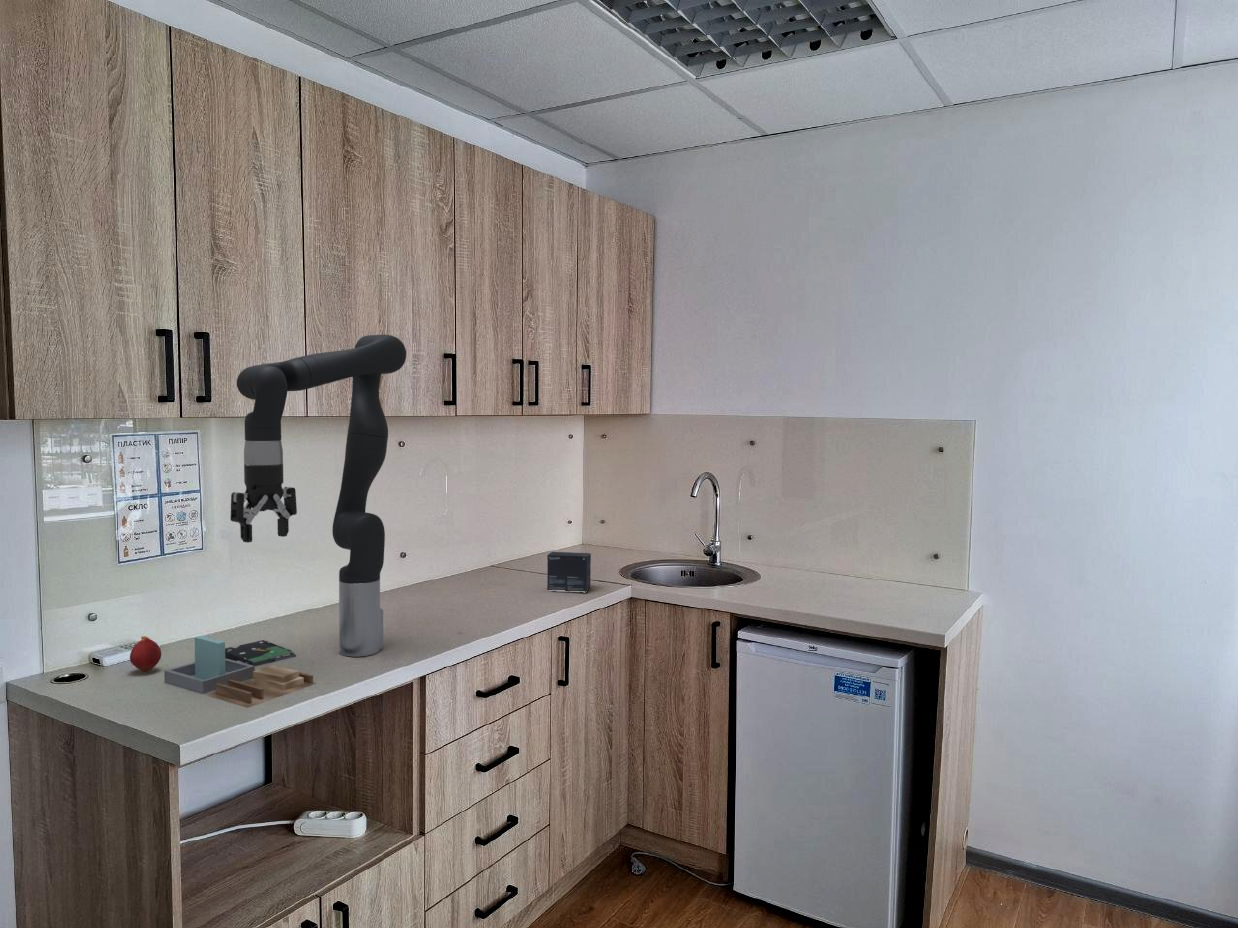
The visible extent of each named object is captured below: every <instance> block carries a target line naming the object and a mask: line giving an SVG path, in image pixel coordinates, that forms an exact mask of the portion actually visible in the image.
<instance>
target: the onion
mask: <svg viewBox="0 0 1238 928" xmlns="http://www.w3.org/2000/svg"><path fill="white" fill-rule="evenodd" d="M140 638H141V640H139V641H137V642H136V643H135V644H134V645H133V647H132V648H131V650H130V653H129V654H130V655H129V661H130V663H131V664H132V666H134V667H135V668H136V669H138V670H140V671H141V672H143V673H148V672H149V671H151V670H153V669H154V668H155V667H156V666H157V665H158V663H159V662H160V661H161V658H162V648H161V647H160V646H159V644H158V643H157V642H155V641H154V640H152V639H150V638H149V637H148V636H147V635H142V636H141V637H140Z"/></svg>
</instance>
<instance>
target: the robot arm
mask: <svg viewBox="0 0 1238 928" xmlns="http://www.w3.org/2000/svg"><path fill="white" fill-rule="evenodd" d="M406 359H407V350H406V346H405V344H404V343H403V342H402V340H401V339H400V338H399V337H397V336H394V335H390V334H370V335H369V334H367V335H364V336H362V337H360V338H359V339H358V340H357V342H356V343H355V346H354V348H350V349H349V348H348V349H342V350H334V351H326V352H319V353H313V354H308V355H307V354H306V355H303V356H297V357H294V358H291V359H287V360H283V361H278V362H270V363H263V364H255V365H251V366H247V367H245V368H244V369H242V370H241V371H240V373H239V374H238V376H237V378H236V387H237V391H238V392H239V393H240V394H241V395H242V396H243V397H245V398H247V399H250V400H254V405H253V410H252V411H251V412H249V413H247V414H246V415H245V418H244V446H243V475H244V477H243V482H244V485H245V491H244V492H236V491H235V492H234V491H233V492H231V495H230V521H231V522H235V523H238V524H239V527H240V530H239V531H240V532H239V533H240V539H241V540H242V542H243V543H252V542H253V524H252V521H253V519H255V517H256V516H257V515H258V514H259V513H260V512H266V511H272V512H273V513H275V515H276V516H277V517H278V518H277V520H276V521H277V536H278V537H287V536H288V534H289V532H290V531H289V530H290V529H289V526H290V525H289V523H290V522H289V521H290V520H289V519H290V518H291V517H292V516H295V515H297V513H298V509H297V494H296V488H295V487H291V486H284V487H283V486H282V485H283V483H284V450H283V449H284V448H283V444H282V418H283V414H284V411H285V407H286V402H287V397H288V392H297V391H300V392H301V391H305V390H308V389H313V388H316V387H320V386H323V385H327V384H330V383H334V382H338V381H342V380H346V379H348V378H349V379H350V378H352V385H351V386H352V387H351V389H352V391H351V392H352V393H351V400H350V401H351V402H350V403H351V404H350V410H349V411H350V413H349V419H348V420H349V422H348V428H347V435H346V443H345V454H344V462H343V468H342V469H343V470H342V477H341V485H340V490H339V496H338V500H337V504H336V508H335V513H334V516H333V522H332V531H331V532H332V538H333V540H334V541H333V542H335V544H336V545H337V546H338V547H339V548H341V549H345V550H349V562H348V563H347V565H344V566H341V568H340V569H339V571H338V597H339V598H338V599H339V600H338V603H339V604H338V605H339V607H338V610H339V611H338V612H339V616H338V617H339V618H338V619H339V620H338V621H339V622H338V623H339V624H338V625H339V627H338V629H339V640H338V641H339V654H340V655H342V656H343V657H344V656H346V657H357V658H358V657H366V656H372V655H375V654H377V653H379V652H380V651H381V650H383V649H384V609H382V608H381V572H382V569H383V568H384V567H383V566H384V562H385V561H384V560H385V547H386V545H385V543H386V541H385V540H386V534H385V533H386V532H385V530H386V529H385V525H384V523H383V521H382V519H381V518H380V516H378V514H374V513H370V512H366V508H367V499H368V495H369V491H370V488H371V486H372V484H373V482H374V481H375V479H376V477H377V475H378V473H379V472H380V470H381V468H382V466H383V465H384V462H385V459H386V455H387V448H388V439H389V427H388V423H387V422H388V421H387V420H386V415H385V412H384V409H383V407H382V403H381V399H380V386H381V385H380V384H381V377H382V375H388V374H392V373H396V372H397V371H400V370H401V368H402V367H403V366H404V364H405V363H406ZM282 498H283V501H282ZM245 503H246V504H245Z"/></svg>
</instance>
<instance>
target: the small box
mask: <svg viewBox="0 0 1238 928" xmlns="http://www.w3.org/2000/svg"><path fill="white" fill-rule="evenodd" d="M546 555H547V556H546V557H547V563H546V564H547V565H546V566H547V570H546V571H547V576H546V577H547V581H546V583H547V588H546V591H547V590H565V591H585V592H586V591H588V590H589V589H590V590H591V565H592V564H591V563H592V561H591V559H592V557H591V556H592V553H591V552H566V551H565V552H564V551H551V552H550V553H548V554H546ZM590 590H589V591H590ZM589 591H588V592H589Z"/></svg>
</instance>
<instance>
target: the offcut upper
mask: <svg viewBox="0 0 1238 928" xmlns="http://www.w3.org/2000/svg"><path fill="white" fill-rule="evenodd" d="M299 672H300V670H297V669H292V668H286V667H281V666H278V667H276V666H275V665H266V666H264V667H261V668H259V669H255V671H253V677H254V678H259V679H264V680H269V681H274V682H279V683H284V682H287V681H290V680H292V679H295V678H297V677H299ZM254 678H253V679H254Z"/></svg>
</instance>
